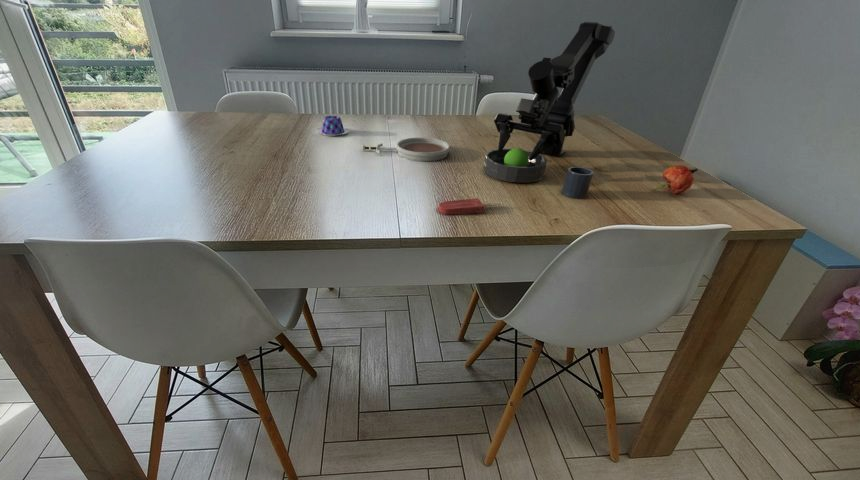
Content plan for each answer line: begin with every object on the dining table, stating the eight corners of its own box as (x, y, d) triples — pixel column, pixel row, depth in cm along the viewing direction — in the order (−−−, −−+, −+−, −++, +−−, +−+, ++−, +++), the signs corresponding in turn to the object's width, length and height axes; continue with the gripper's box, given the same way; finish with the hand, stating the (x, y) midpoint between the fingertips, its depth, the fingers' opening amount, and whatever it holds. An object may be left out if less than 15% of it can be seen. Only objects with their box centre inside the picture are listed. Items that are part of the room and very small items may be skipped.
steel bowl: (498, 160, 123) (500, 145, 120) (551, 172, 115) (555, 156, 112) (473, 174, 112) (475, 158, 110) (529, 189, 104) (533, 172, 102)
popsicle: (505, 204, 92) (442, 209, 90) (504, 211, 93) (441, 216, 91) (497, 196, 95) (436, 201, 93) (496, 203, 96) (435, 208, 94)
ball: (515, 167, 117) (521, 145, 113) (529, 175, 112) (536, 152, 108) (497, 168, 115) (502, 145, 111) (510, 176, 110) (516, 152, 106)
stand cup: (565, 187, 105) (572, 165, 102) (589, 193, 103) (596, 170, 99) (558, 194, 102) (564, 171, 98) (582, 200, 99) (589, 176, 95)
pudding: (348, 137, 140) (347, 121, 137) (313, 136, 140) (312, 121, 137) (351, 128, 150) (350, 113, 147) (318, 127, 150) (317, 112, 147)
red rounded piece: (660, 205, 102) (707, 187, 97) (649, 179, 101) (696, 159, 96) (656, 198, 108) (700, 180, 103) (645, 173, 107) (689, 154, 102)
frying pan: (364, 135, 134) (449, 137, 132) (364, 144, 136) (448, 146, 134) (356, 151, 120) (452, 153, 118) (357, 161, 122) (451, 163, 120)
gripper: (503, 81, 108) (475, 131, 108) (572, 90, 98) (542, 146, 98) (511, 107, 118) (486, 154, 117) (575, 119, 108) (548, 170, 107)
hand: (513, 155), depth 110 cm, fingers open, 9 cm apart
